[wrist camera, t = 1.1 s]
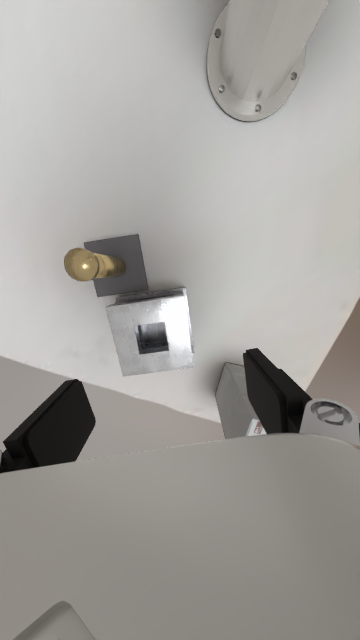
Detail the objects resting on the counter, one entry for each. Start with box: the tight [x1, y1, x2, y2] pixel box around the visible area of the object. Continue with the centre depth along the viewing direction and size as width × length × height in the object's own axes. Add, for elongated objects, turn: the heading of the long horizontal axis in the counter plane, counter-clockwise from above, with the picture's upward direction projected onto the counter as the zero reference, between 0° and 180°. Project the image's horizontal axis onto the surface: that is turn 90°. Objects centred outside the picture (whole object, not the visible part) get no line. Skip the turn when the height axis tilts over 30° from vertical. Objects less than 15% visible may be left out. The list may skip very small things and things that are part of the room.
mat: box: [84, 234, 148, 297], centre depth 32 cm, size 9×9×1 cm
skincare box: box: [215, 362, 266, 439], centre depth 30 cm, size 8×7×16 cm
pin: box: [64, 248, 126, 281], centre depth 26 cm, size 3×3×12 cm
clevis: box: [106, 287, 194, 376], centre depth 31 cm, size 12×12×8 cm
